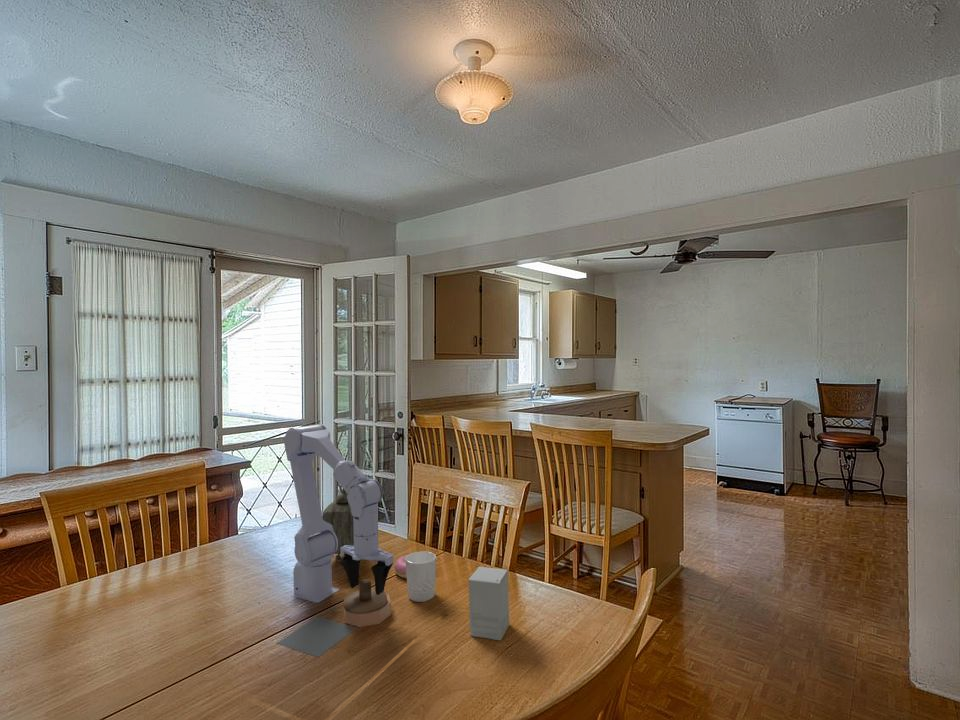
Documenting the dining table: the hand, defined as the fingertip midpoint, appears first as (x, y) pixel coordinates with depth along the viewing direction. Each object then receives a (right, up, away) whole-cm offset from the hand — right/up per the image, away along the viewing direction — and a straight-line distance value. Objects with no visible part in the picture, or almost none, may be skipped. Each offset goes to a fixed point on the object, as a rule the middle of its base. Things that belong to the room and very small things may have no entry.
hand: (367, 589), depth 119 cm
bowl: (0, -6, 0) cm, 6 cm away
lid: (0, -3, -1) cm, 3 cm away
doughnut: (+8, -6, +24) cm, 26 cm away
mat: (-9, -7, -9) cm, 14 cm away
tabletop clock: (-14, -7, +33) cm, 37 cm away
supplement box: (+29, -6, -7) cm, 31 cm away
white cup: (+12, -6, +10) cm, 17 cm away
